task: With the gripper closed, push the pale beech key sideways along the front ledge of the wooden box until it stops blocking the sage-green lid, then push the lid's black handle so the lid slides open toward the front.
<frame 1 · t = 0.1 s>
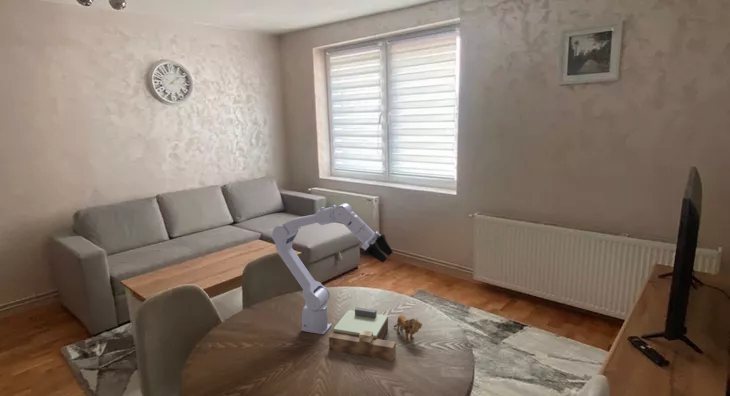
hand: (388, 257, 148), 32 cm above the table, tool tilted 50°, fingers open, 7 cm apart
wooden key: (366, 336, 144), point 6 cm above the table, slide at 0.0 cm
wooden box: (359, 339, 154), on the table
lion figurine: (406, 336, 157), on the table
lid: (361, 320, 155), point 7 cm above the table, slide at 0.0 cm
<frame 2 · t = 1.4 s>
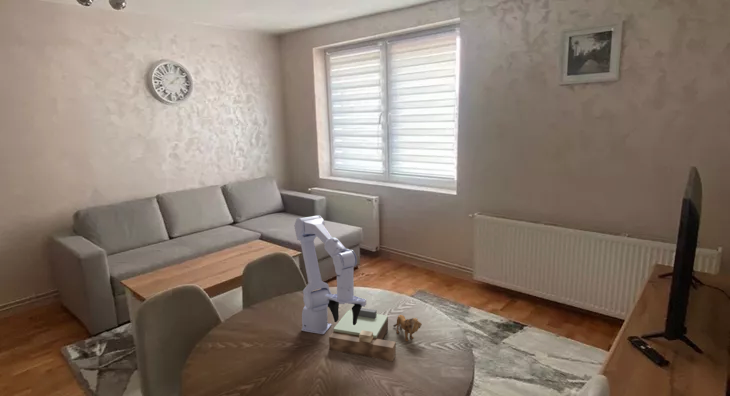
hand: (345, 322, 146), 10 cm above the table, tool pointing down, fingers open, 6 cm apart
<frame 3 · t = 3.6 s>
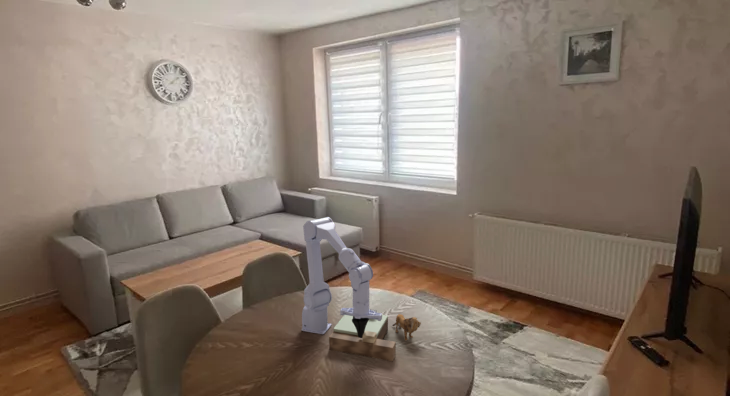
hand: (361, 336, 145), 6 cm above the table, tool pointing down, fingers closed
wooden key: (369, 337, 144), point 6 cm above the table, slide at 1.3 cm, touching gripper
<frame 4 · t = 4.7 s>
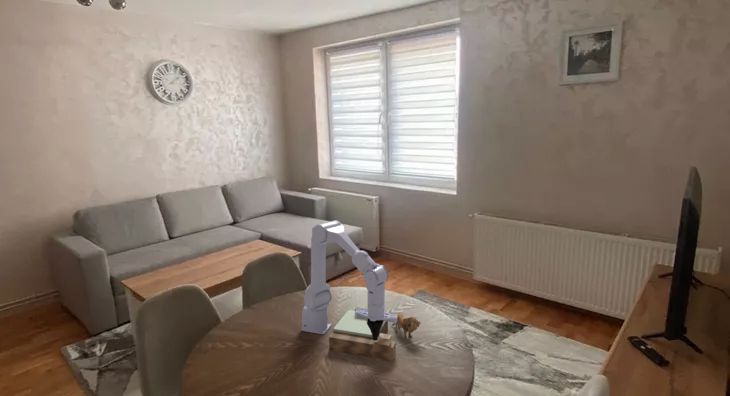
hand: (375, 339, 143), 6 cm above the table, tool pointing down, fingers closed
wooden key: (384, 339, 142), point 6 cm above the table, slide at 6.6 cm, touching gripper
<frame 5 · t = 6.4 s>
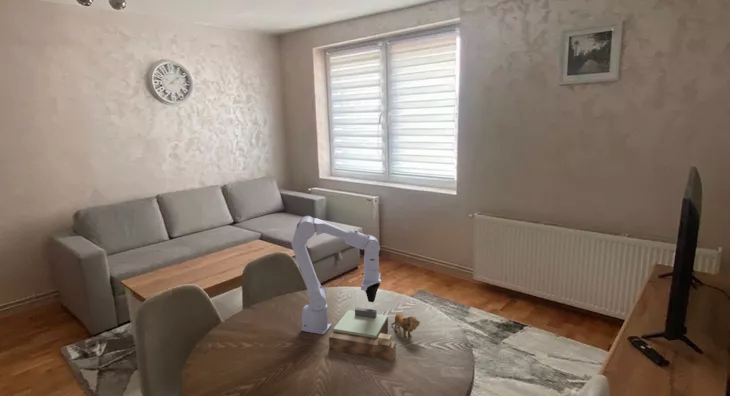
hand: (371, 301, 163), 10 cm above the table, tool pointing down, fingers closed
wooden key: (384, 339, 142), point 6 cm above the table, slide at 6.6 cm
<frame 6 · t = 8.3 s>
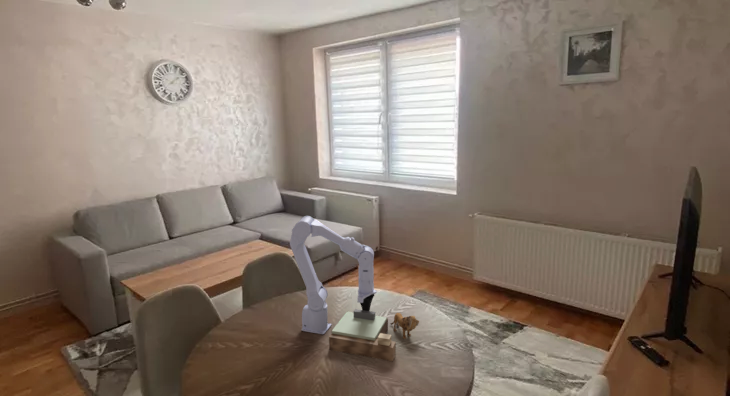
hand: (366, 312, 160), 7 cm above the table, tool pointing down, fingers closed
lid: (360, 321, 154), point 7 cm above the table, slide at 1.6 cm, touching gripper
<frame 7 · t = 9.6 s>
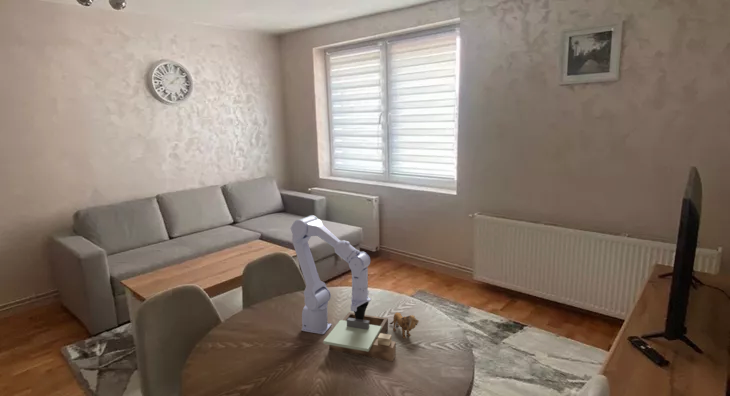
hand: (359, 321, 153), 7 cm above the table, tool pointing down, fingers closed
lid: (353, 331, 147), point 7 cm above the table, slide at 8.9 cm, touching gripper
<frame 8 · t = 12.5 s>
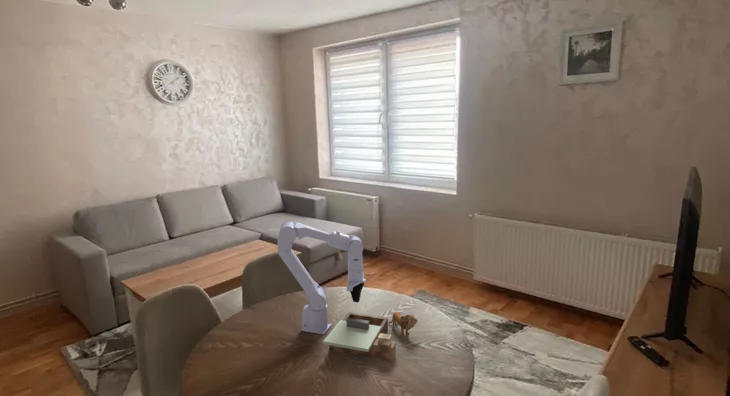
hand: (356, 301, 162), 10 cm above the table, tool pointing down, fingers closed
lid: (353, 331, 147), point 7 cm above the table, slide at 9.1 cm
at the end: wooden key slide at 6.6 cm; lid slide at 9.1 cm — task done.
